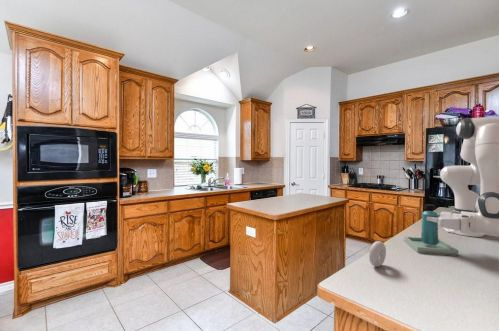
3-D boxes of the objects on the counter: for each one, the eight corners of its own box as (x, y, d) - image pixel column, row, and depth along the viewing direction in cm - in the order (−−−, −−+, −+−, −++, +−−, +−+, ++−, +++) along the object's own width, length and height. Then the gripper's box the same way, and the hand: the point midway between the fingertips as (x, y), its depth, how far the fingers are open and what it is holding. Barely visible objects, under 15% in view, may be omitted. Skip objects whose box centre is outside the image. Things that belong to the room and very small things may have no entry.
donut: (376, 271, 94) (376, 245, 94) (367, 268, 97) (367, 242, 97) (387, 264, 101) (387, 239, 101) (378, 261, 104) (378, 237, 103)
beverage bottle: (440, 248, 115) (441, 206, 115) (424, 247, 117) (425, 205, 116) (433, 244, 122) (434, 203, 121) (418, 243, 123) (419, 203, 122)
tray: (404, 241, 129) (404, 236, 129) (439, 243, 125) (439, 238, 125) (417, 252, 113) (417, 247, 113) (458, 256, 110) (458, 250, 109)
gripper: (465, 210, 118) (429, 207, 127) (466, 218, 103) (425, 213, 111) (465, 223, 118) (429, 219, 127) (465, 233, 103) (425, 227, 112)
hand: (427, 216), depth 119 cm, fingers closed on beverage bottle, 6 cm apart
